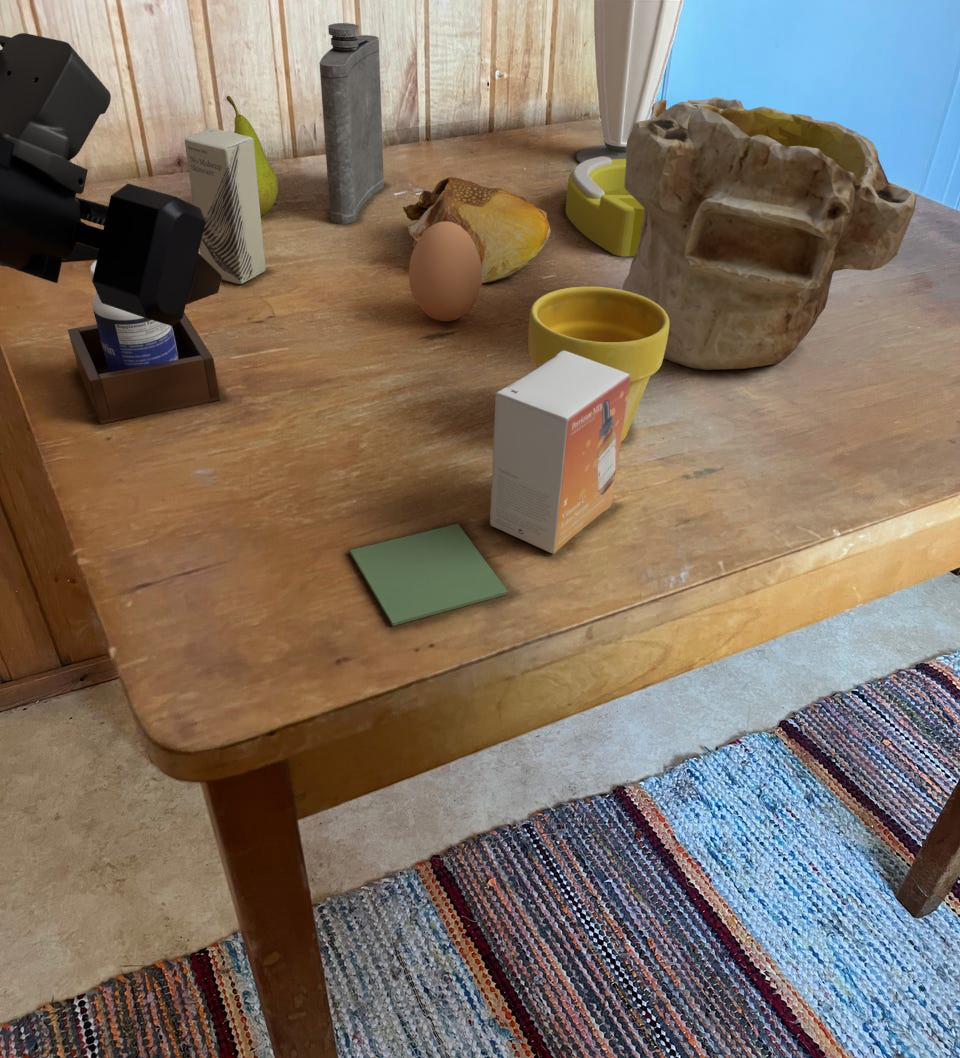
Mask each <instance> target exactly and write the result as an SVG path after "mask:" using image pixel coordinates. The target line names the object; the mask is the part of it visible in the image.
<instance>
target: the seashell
mask: <svg viewBox="0 0 960 1058" xmlns="http://www.w3.org/2000/svg"><path fill="white" fill-rule="evenodd" d="M402 209H403V211H404V213H405V215H406V218H407V219H408V220H410V221H411V222H414V221H415V222H414V223H410V224H409V225H408V226H407V232H408V235H409V237H410V239H411V244H412V246H413V249H414V248H415V246H416V244H417V242H418V240H419V239H420V237H421V236H422V234H423V233H424V232H425V231H426V230H427V229H428V228H429V227H430V226H432V225H434V224H436V223H439V222H444V221H448V222H452V223H455V224H457V225H459V226H460V227H462V228H463V229H464V230H465V231H466V232H467V233H468V234H469V236H470V237H471V239H472V240H473V242H474V244H475V246H476V249H477V251H478V254H479V256H480V261H481V266H482V284H487V283H491V282H496V281H498V280H501V279H504V278H507V277H509V276H511V275H513V274H515V273H516V272H517V271H519V270H521V269H522V268H524V267H525V266H527V265H528V264H530V263H531V262H533V260H535V259H536V257H537V255H538V254H539V252H541V251H542V250H543V249H544V247H545V246H546V244H547V242H548V240H549V238H550V235H551V227H550V222H549V221H548V213H547V212H546V211H545V210H543V209H541V208H538V207H537V206H536V205H534V204H533V203H532V202H530V201H528V200H527V199H526V198H524V197H522V196H520V195H517V194H516V193H513V192H510V191H508V190H505V189H503V188H500V187H488V186H483V185H480V184H478V183H476V182H474V181H471V180H466V179H462V178H457V177H453V176H450V177H449V176H448V177H447V178H444V179H442V180H440V181H439V182H438V183H437V184H436V186H434V189H433V190H432V191H429V190H423V191H422V192H421V193H420V194H419V198H418V201H417V202H416V203H415V204H409V205H407V206H404V205H403V206H402Z"/></svg>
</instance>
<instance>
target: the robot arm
mask: <svg viewBox="0 0 960 1058" xmlns="http://www.w3.org/2000/svg"><path fill="white" fill-rule="evenodd" d="M0 47H1V49H0V266H1V267H6V268H10V269H13V270H16V271H19V272H22V273H24V274H27V275H30V276H33V277H37V278H39V279H42V280H45V281H48V282H52V283H54V284H58V283H59V279H60V274H61V273H60V272H61V268H62V264H63V263H73V262H74V263H75V262H76V263H77V262H89V261H96V260H97V262H96V266H95V271H94V275H93V280H92V279H91V282H92V284H93V286H94V289H95V291H96V292H97V294H98V296H99V298H100V300H101V303H103V304H106V305H109V306H112V307H115V308H118V309H120V310H123V311H126V312H129V313H132V314H135V315H138V316H141V317H144V318H147V319H150V320H153V321H156V322H160V323H163V324H166V325H170V326H173V325H175V324H176V323H177V322H179V321H180V320H181V319H183V315H184V312H185V310H186V306H187V305H189V304H192V303H195V302H197V301H199V300H202V299H203V300H204V299H206V298H209V297H211V296H213V295H216V294H218V293H219V291H220V287H221V284H222V280H223V279H222V276H221V274H220V273H219V272H218V271H217V270H216V269H215V268H214V267H213V266H211V265H210V264H209V263H208V262H207V261H206V260H205V259H204V258H203V257H202V256H201V255H200V244H201V240H202V235H203V231H204V227H205V223H206V221H205V218H204V216H203V213H202V211H201V209H200V208H199V207H197V206H195V205H193V203H190V202H188V201H186V200H184V199H182V198H179V197H178V196H174V195H171V194H169V193H164V192H160V191H157V190H153V189H150V188H146V187H143V186H139V185H135V184H132V183H127V184H125V185H123V186H122V187H121V188H119V189H118V190H116V191H115V192H114V193H112V194H111V195H110V198H109V203H108V205H105V204H102V203H98V202H95V201H91V200H88V199H85V198H81V197H78V196H77V194H78V195H82V194H83V193H84V189H85V186H86V182H87V177H88V173H89V169H87V168H85V167H83V166H81V165H78V164H76V163H74V162H72V161H71V160H73V159H74V158H75V157H76V156H78V155H79V153H80V151H81V150H82V148H83V146H84V144H85V143H86V141H87V139H88V137H89V136H90V134H91V132H92V130H93V128H94V126H95V125H96V123H97V121H98V119H99V117H100V116H101V115H105V114H106V112H107V110H108V108H109V107H110V105H111V99H112V95H111V92H110V90H109V89H108V88H107V87H106V86H105V84H104V83H103V82H102V81H101V79H99V77H97V75H96V74H95V72H93V70H92V69H91V67H89V66H88V64H86V63H87V62H85V60H83V58H81V56H80V55H79V54H78V53H77V51H76V50H75V49H74V47H72V46H71V44H70V43H69V42H67V41H64V40H59V39H54V38H50V37H45V36H41V35H36V34H31V33H27V32H21V33H17V34H15V35H13V36H12V37H11V36H6V35H2V34H0ZM84 221H87V222H90V223H93V224H97V225H99V226H103V228H99V227H96V226H93V225H89V224H87V223H85V222H84Z"/></svg>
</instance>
